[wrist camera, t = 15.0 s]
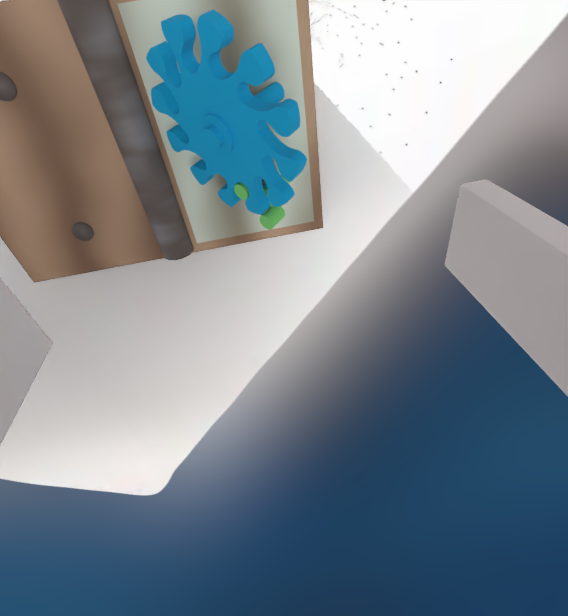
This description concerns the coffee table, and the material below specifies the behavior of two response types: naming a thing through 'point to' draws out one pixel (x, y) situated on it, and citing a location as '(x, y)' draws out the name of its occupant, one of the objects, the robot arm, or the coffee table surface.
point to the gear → (227, 114)
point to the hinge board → (129, 134)
